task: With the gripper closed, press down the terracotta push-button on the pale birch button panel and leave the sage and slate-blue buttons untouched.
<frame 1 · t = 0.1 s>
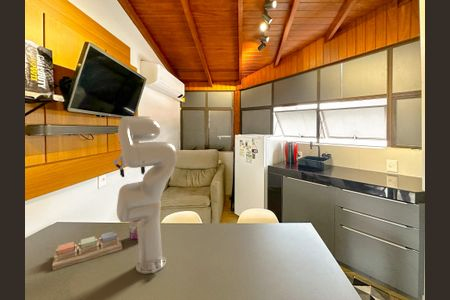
hand: (133, 175, 114), 37 cm above the table, tool pointing down, fingers open, 9 cm apart
button panel: (89, 252, 110), on the table
sage button: (88, 243, 110), point 5 cm above the table, slide at 0.0 cm
candy bar box: (141, 238, 124), on the table
slate button: (108, 237, 115), point 5 cm above the table, slide at 0.0 cm
terracotta button: (66, 249, 105), point 5 cm above the table, slide at 0.0 cm
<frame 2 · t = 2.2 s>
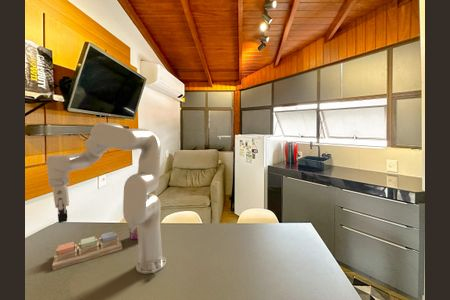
hand: (63, 219, 104), 19 cm above the table, tool pointing down, fingers open, 4 cm apart
nothing on the table moved.
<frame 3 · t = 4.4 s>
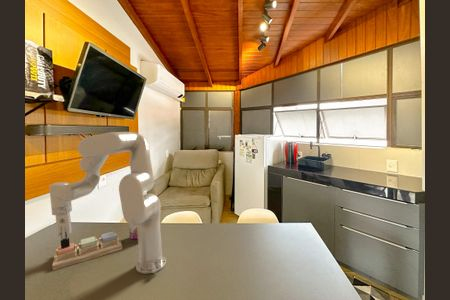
hand: (65, 246, 105), 6 cm above the table, tool pointing down, fingers closed
terracotta button: (66, 250, 105), point 5 cm above the table, slide at 0.5 cm, touching gripper
everything else where it was.
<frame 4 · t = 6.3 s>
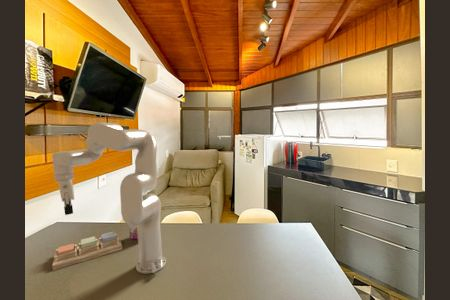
hand: (69, 213, 109), 20 cm above the table, tool pointing down, fingers closed
terracotta button: (66, 250, 105), point 4 cm above the table, slide at 0.9 cm
everything else where it was.
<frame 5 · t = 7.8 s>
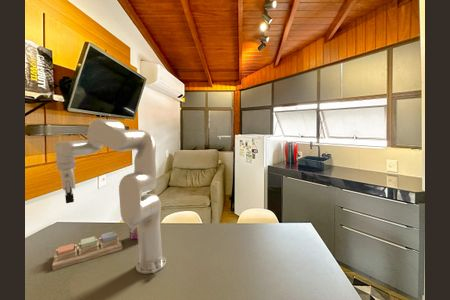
hand: (70, 202, 111), 25 cm above the table, tool pointing down, fingers closed
nothing on the table moved.
at the end: terracotta button slide at 0.9 cm; sage button slide at 0.0 cm; slate button slide at 0.0 cm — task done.
